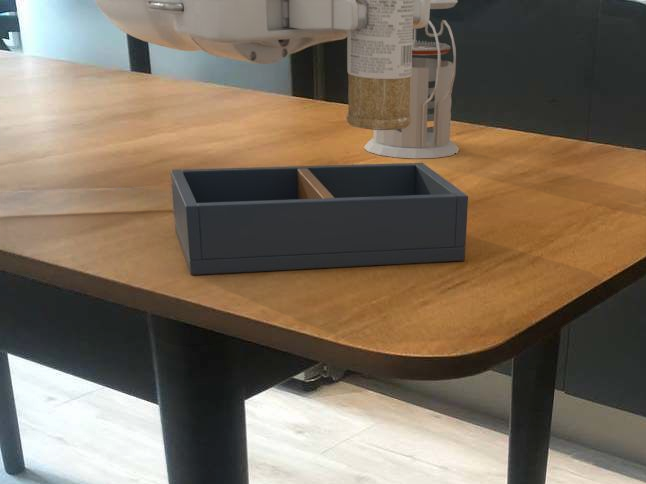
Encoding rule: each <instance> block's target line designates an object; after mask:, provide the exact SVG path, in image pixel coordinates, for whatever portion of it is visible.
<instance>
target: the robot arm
mask: <svg viewBox="0 0 646 484" xmlns="http://www.w3.org/2000/svg"><path fill="white" fill-rule="evenodd" d="M93 1H94V3H95V5H96V7H97V8H98V9H99V11H100V12H101V13H102V15H104V17H105V18H106V19H107V20H109V21H110V22H111V23H112V24H113V25H114V26H115V27H116V28H118V29H119V30H121V31H122V32H123V33H125V34H127V35H129V36H130V37H133V38H135V39H138V40H140V41H143V42H146V43H149V44H152V45H156V46H159V47H163V48H168V49H172V50H176V51H177V50H178V51H184V52H196V51H203V52H204V53H207V54H208V55H211V56H215V57H218V58H224V59H229V60H230V59H231V60H237V61H241V62H247V63H253V64H258V65H259V64H260V65H269V64H275V63H277V62H279V61H282V60H283V59H285V58H286V57H287V56H288V55H292V54H296V53H298V52H300V51H302V50H305V49H306V48H310V47H313V46H317V45H321V44H325V43H333V42H335V41H339V40H340V41H341V40H344V39H347V30H348V31H349V30H359V29H365V28H366V27H367V25H368V17H367V13H368V4H367V2H366V1H365V0H93ZM430 12H431V9H430V0H414V2H413V30H414V29H416V30H419V29H423V28H425V26H427V24H428V25H429V23H428V22H429V20H430V14H431V13H430Z"/></svg>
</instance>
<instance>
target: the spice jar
mask: <svg viewBox="0 0 646 484" xmlns="http://www.w3.org/2000/svg"><path fill="white" fill-rule="evenodd" d="M365 1H366V2H367V4H368V13H367V17H368V25H367V27H366V28H365V29H359V30H349V31H348V30H347V37H346V39H347V40H346V41H347V43H346V51H347V53H346V56H347V57H346V60H347V62H346V63H347V64H346V65H347V66H346V67H347V68H346V70H347V71H346V72H347V74H348V77H347V78H348V79H347V80H348V93H347V94H348V112H347V114H346V121H347V123H348V125H350V126H352V127H354V128H359V129H363V130H365V129H366V130H371V131H374V130H395V129H403V128H406V127H407V126H408V125H409V124H410V123H411V117H410V113H409V110H410V79H411V74H412V58H413V55H412V41H413V40H414V29H413V2H414V0H365Z"/></svg>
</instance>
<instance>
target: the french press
mask: <svg viewBox="0 0 646 484" xmlns="http://www.w3.org/2000/svg"><path fill="white" fill-rule="evenodd" d="M458 2H459V1H458V0H430V10H443V9H444V10H445V9H451V8H454V7H455V6H456V5H457V3H458ZM444 25H445V27H446V28H447V30H448V33H449V36H450V39H451V45H449V44H447V43H445V42H444V43H443V42H440V41H439V36H442V34H443V32H444ZM429 26H430V28H431V29H432V31H433V32H432V33H431V32H429V30H428V28H429ZM424 28H425V29H424V31H425V35H426V36H428V37H430V38H434V39H435V42H433V41H428V42H427V40H425V41H424V40H422V41H421V40H417V29H413V41H412V56H437V58H430V57H429V58H427V57H412V74H411V79H410V110H409V113H410V117H411V123H410V124H409V125H408V126H407V127H406V128H403V129H395V130H373V137H371V139H370V140H368V141H367V143H366V144H365V145H364V147H363V149H364V150H365V151H367V152H368V153H371V154H375V155H378V156H383V157H391V158H399V159H400V158H401V159H438V158H444V157H451V156H453V155H456V154H458V153H459V152H458V150H459V151H460V148H459V147H458V146H457V145H456V143H455V142H454V141H452V140H451V120H452V119H451V118H452V110H451V109H452V93H453V86H454V82H455V79H456V68H457V49H456V48H457V47H456V43H455V38H454V35H453V30H452V29H451V26H450V24H449V23H448V22H447V20H444V19H442V20H441V22H440V30H439V31H438V32H437V30H436V27H435V26H434V24H433V23H432V21H431V20H430V19H429V22H428V24H427V26H425V27H424ZM451 49H452V55H453V61H449V60H444V59H442V58H441V57H442V55H445V54H448V53H449V52H450V50H451ZM429 82H434V83H435V84H434V87H429ZM433 98H434V100H433ZM428 109H434V110H433V113H428ZM428 122H433V126H428ZM455 153H456V154H455Z"/></svg>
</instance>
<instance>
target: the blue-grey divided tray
mask: <svg viewBox="0 0 646 484" xmlns="http://www.w3.org/2000/svg"><path fill="white" fill-rule="evenodd" d="M170 179H171V183H170V184H171V195H172V206H173V207H172V208H173V218H174V230H175V231H174V232H175V234H176V237H177V240H178V242H179V246H180V248H181V251H182V254H183V256H184V259H185V263H186V265H187V268H188V271H189V273H190V275H191V276H200V275H218V274H219V275H220V274H240V273H259V272H275V271H295V270H313V269H314V270H315V269H333V268H334V269H335V268H351V267H352V268H353V267H354V268H355V267H370V266H371V267H373V266H389V265H409V264H411V265H412V264H426V263H427V264H428V263H446V262H447V263H449V262H464V261H466V260H465V259H466V245H467V244H466V242H467V228H468V227H467V225H468V224H467V223H468V207H469V195H468V194H466V193H465V192H464V191H462V190H461V189H460V188H458V187H457V186H455V185H454V184H452V183H451V182H450V181H448V180H447V179H446V178H444V177H443V176H442V175H440V174H439V173H437V172H436V171H435V170H433V169H432V168H431V167H429V166H428V165H427V164H426V163H424V162H401V163H395V162H394V163H367V164H365V163H364V164H363V163H362V164H331V165H329V164H328V165H326V164H325V165H294V166H292V165H291V166H290V165H289V166H260V167H259V166H258V167H257V166H256V167H255V166H254V167H221V168H220V167H219V168H218V167H217V168H187V169H185V168H184V169H183V168H182V169H170Z"/></svg>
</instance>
